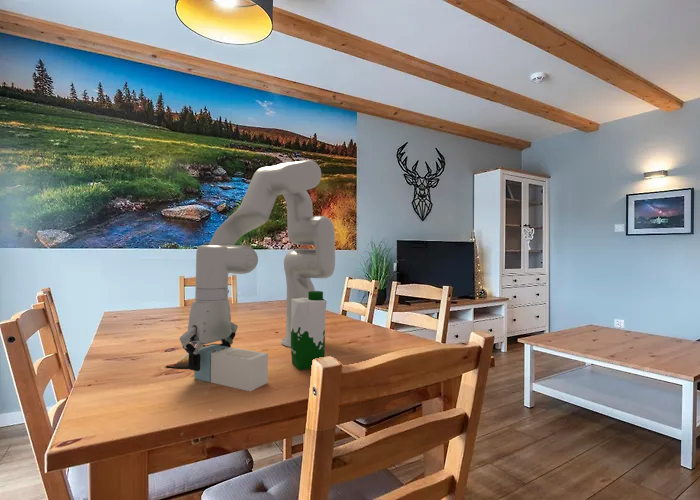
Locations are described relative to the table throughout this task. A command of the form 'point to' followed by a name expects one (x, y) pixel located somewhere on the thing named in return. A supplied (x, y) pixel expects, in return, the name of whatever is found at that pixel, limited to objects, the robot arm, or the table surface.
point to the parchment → (186, 359)
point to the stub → (206, 362)
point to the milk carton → (307, 329)
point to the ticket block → (239, 368)
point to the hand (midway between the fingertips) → (210, 364)
